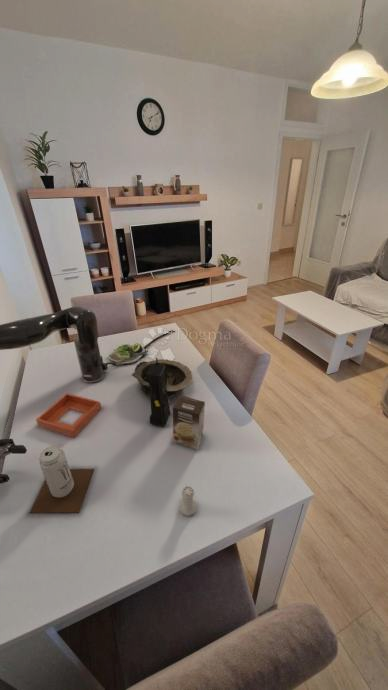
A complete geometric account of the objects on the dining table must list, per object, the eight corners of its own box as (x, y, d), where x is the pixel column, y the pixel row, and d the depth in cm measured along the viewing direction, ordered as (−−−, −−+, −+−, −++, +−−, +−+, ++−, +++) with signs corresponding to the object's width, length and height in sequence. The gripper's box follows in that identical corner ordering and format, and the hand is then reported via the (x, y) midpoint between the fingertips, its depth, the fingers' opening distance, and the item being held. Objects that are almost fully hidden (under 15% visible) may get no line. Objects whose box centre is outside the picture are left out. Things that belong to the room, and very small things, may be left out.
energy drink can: (69, 499, 76) (56, 463, 68) (47, 499, 76) (32, 463, 68) (77, 479, 81) (66, 444, 73) (57, 479, 81) (44, 443, 74)
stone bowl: (123, 396, 113) (121, 377, 109) (153, 368, 134) (152, 351, 131) (177, 412, 105) (177, 392, 101) (200, 380, 126) (201, 362, 122)
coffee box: (172, 443, 93) (171, 407, 86) (179, 429, 99) (178, 394, 91) (197, 450, 91) (199, 414, 83) (203, 436, 96) (205, 400, 88)
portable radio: (164, 429, 99) (161, 372, 86) (148, 426, 100) (143, 369, 87) (170, 414, 105) (168, 358, 93) (155, 411, 106) (151, 356, 94)
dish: (68, 399, 112) (66, 392, 110) (101, 408, 108) (100, 401, 106) (38, 426, 99) (35, 419, 97) (73, 438, 95) (71, 431, 93)
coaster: (51, 469, 84) (50, 468, 84) (94, 469, 84) (93, 468, 84) (29, 513, 73) (29, 512, 73) (79, 513, 73) (78, 512, 73)
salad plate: (131, 371, 130) (130, 362, 127) (100, 363, 135) (98, 355, 133) (151, 351, 145) (150, 344, 143) (122, 345, 151) (121, 337, 149)
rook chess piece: (179, 500, 76) (178, 482, 72) (195, 499, 77) (195, 481, 73) (179, 517, 72) (179, 499, 68) (196, 516, 73) (197, 498, 69)
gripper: (-75, 479, 64) (-4, 479, 65) (-32, 432, 77) (26, 432, 77) (-61, 498, 68) (6, 497, 68) (-22, 450, 80) (34, 450, 81)
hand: (17, 463), depth 73 cm, fingers open, 8 cm apart
